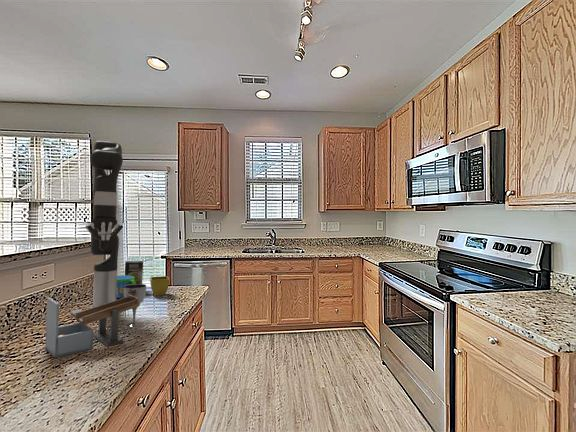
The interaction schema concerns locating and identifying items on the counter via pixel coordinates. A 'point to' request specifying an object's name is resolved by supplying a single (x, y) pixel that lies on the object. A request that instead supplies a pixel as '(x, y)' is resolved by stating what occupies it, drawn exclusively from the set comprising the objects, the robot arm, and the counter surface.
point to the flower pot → (159, 285)
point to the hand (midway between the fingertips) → (103, 250)
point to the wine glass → (138, 292)
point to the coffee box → (134, 270)
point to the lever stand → (106, 335)
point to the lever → (105, 310)
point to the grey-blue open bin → (75, 334)
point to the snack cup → (123, 284)
